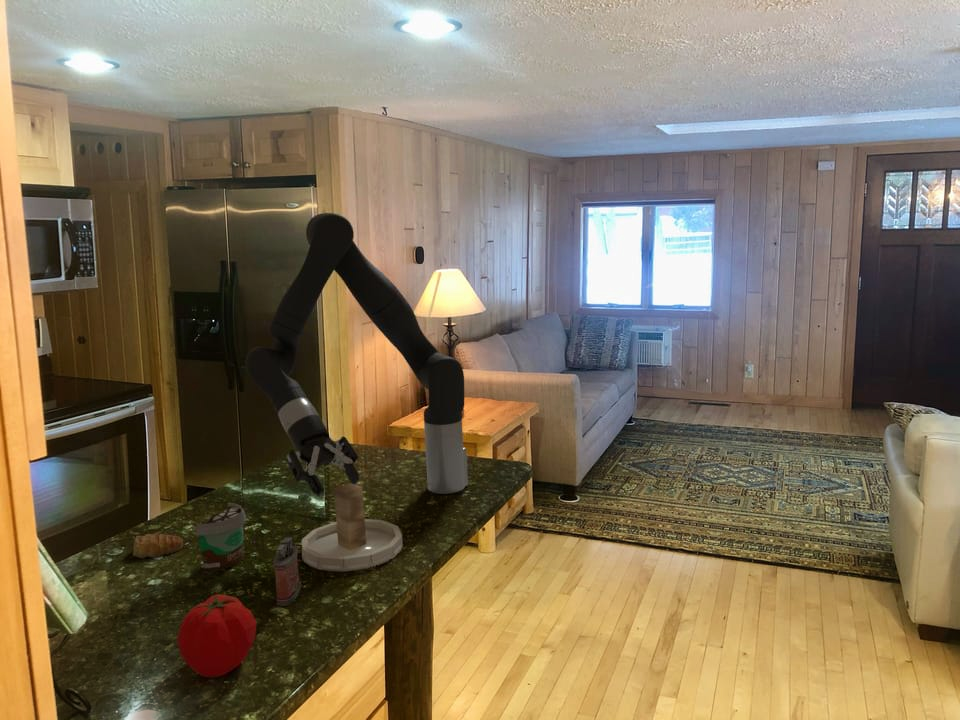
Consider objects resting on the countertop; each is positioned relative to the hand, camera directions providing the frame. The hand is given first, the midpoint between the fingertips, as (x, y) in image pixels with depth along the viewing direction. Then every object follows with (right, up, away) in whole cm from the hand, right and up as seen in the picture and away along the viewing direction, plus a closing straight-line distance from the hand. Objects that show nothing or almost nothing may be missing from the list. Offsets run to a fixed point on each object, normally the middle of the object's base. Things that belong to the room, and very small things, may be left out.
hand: (339, 487), depth 155 cm
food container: (-20, -14, -4) cm, 25 cm away
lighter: (-6, -16, -18) cm, 25 cm away
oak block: (+3, -11, 0) cm, 12 cm away
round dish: (+3, -12, 0) cm, 13 cm away
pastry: (-38, -14, +3) cm, 41 cm away
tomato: (-10, -20, -40) cm, 46 cm away
